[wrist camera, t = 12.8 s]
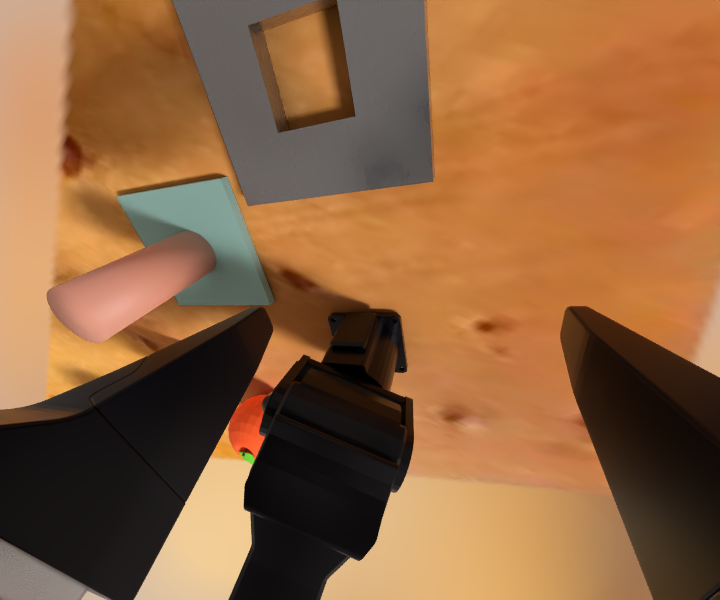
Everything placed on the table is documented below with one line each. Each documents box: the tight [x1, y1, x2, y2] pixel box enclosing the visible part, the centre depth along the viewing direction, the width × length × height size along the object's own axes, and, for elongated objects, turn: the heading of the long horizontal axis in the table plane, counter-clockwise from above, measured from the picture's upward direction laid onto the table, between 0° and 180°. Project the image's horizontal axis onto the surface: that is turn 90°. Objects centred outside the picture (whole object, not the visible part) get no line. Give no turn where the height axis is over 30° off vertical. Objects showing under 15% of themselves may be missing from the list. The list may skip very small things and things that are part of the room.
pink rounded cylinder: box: [47, 231, 216, 343], centre depth 22 cm, size 4×4×10 cm
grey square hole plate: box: [172, 0, 435, 206], centre depth 17 cm, size 13×13×2 cm
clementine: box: [228, 395, 267, 464], centre depth 35 cm, size 8×7×7 cm
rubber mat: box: [116, 177, 275, 306], centre depth 26 cm, size 11×11×1 cm
